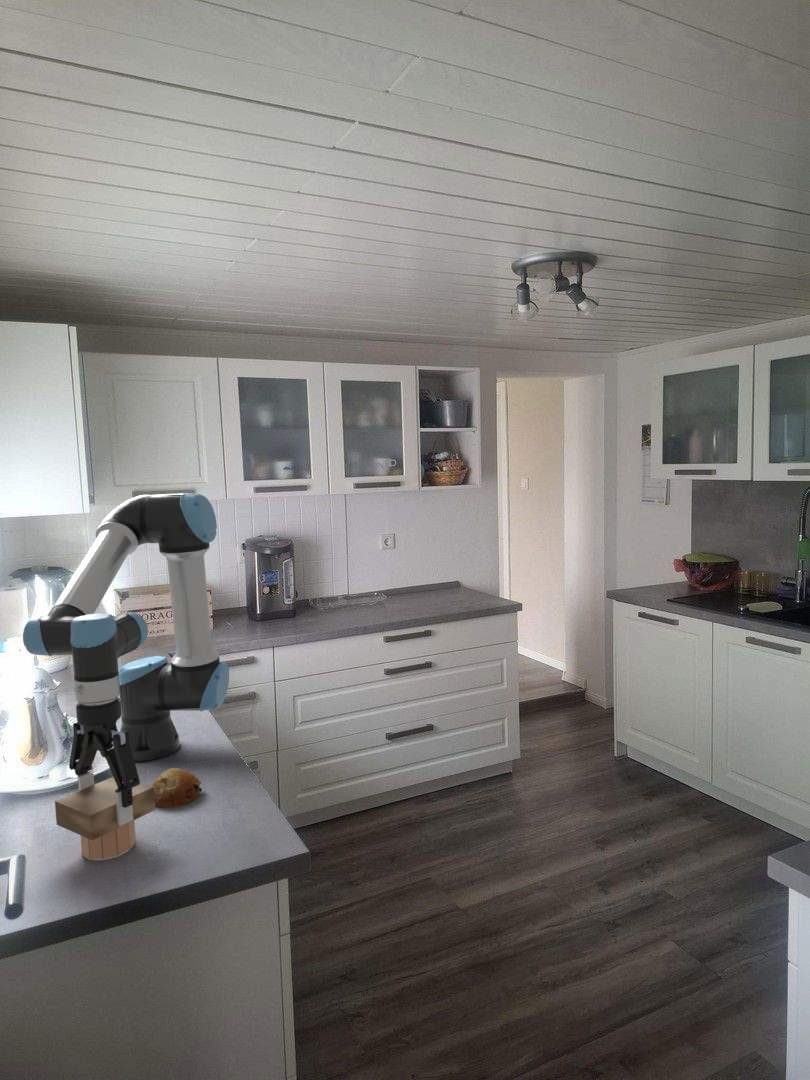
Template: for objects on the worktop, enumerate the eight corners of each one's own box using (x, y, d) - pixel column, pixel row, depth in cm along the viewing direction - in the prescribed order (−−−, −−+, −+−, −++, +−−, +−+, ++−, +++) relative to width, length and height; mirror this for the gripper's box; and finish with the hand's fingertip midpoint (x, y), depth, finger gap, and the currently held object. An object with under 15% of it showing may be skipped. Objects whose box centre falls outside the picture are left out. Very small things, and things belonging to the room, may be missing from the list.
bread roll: (171, 802, 159) (154, 771, 158) (211, 783, 158) (194, 752, 158) (154, 824, 149) (135, 791, 149) (196, 804, 148) (178, 770, 148)
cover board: (119, 796, 141) (118, 774, 140) (155, 809, 135) (153, 786, 134) (56, 824, 130) (54, 801, 130) (92, 840, 124) (90, 815, 124)
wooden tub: (116, 830, 139) (114, 801, 139) (145, 843, 134) (143, 812, 134) (71, 852, 132) (69, 821, 131) (101, 866, 127) (98, 834, 126)
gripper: (43, 695, 134) (52, 807, 136) (118, 716, 121) (126, 840, 123) (80, 685, 140) (88, 792, 142) (156, 703, 127) (163, 822, 129)
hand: (106, 814), depth 132 cm, fingers closed on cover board, 11 cm apart
